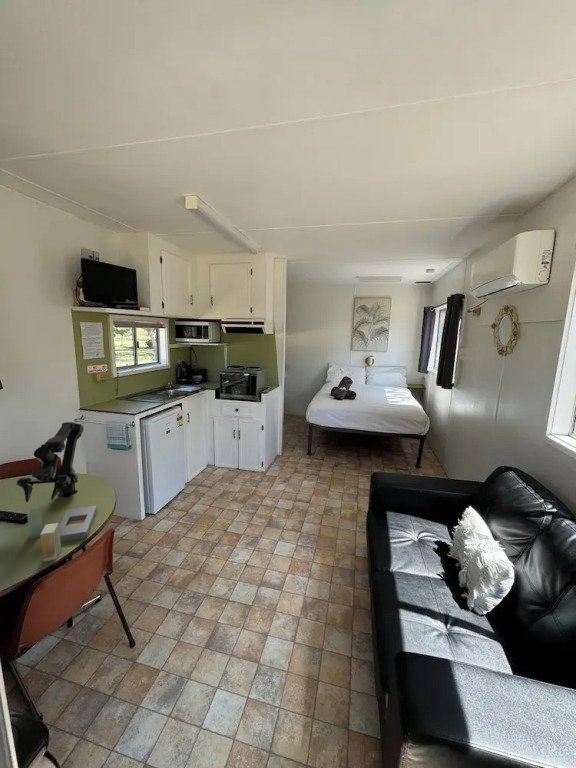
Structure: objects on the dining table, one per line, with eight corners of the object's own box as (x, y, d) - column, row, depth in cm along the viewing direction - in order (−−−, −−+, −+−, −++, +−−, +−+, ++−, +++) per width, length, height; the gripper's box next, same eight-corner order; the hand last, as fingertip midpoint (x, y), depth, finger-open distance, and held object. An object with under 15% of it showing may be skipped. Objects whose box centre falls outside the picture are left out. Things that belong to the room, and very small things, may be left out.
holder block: (67, 515, 145) (67, 509, 144) (97, 511, 149) (96, 505, 148) (53, 543, 126) (52, 537, 126) (87, 537, 131) (86, 531, 130)
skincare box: (48, 550, 122) (45, 523, 120) (61, 548, 124) (59, 521, 122) (42, 562, 116) (39, 534, 114) (56, 560, 118) (53, 532, 116)
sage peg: (37, 530, 133) (35, 505, 131) (45, 532, 132) (43, 507, 130) (26, 537, 129) (24, 511, 127) (35, 539, 128) (32, 513, 126)
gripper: (16, 461, 132) (4, 498, 124) (66, 458, 138) (57, 493, 129) (27, 470, 141) (16, 504, 133) (74, 466, 147) (66, 500, 138)
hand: (39, 500), depth 133 cm, fingers open, 9 cm apart
